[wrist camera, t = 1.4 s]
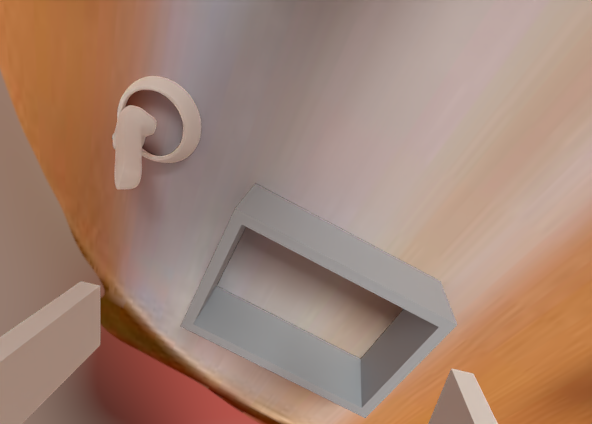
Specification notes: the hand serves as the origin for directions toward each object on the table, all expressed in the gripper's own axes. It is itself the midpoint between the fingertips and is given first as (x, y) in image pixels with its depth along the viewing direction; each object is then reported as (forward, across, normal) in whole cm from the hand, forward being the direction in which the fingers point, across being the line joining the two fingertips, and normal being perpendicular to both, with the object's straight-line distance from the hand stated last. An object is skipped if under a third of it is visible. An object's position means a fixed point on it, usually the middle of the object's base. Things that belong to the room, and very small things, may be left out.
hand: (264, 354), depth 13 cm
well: (+21, +2, -9) cm, 23 cm away
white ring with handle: (+20, -15, +5) cm, 25 cm away
